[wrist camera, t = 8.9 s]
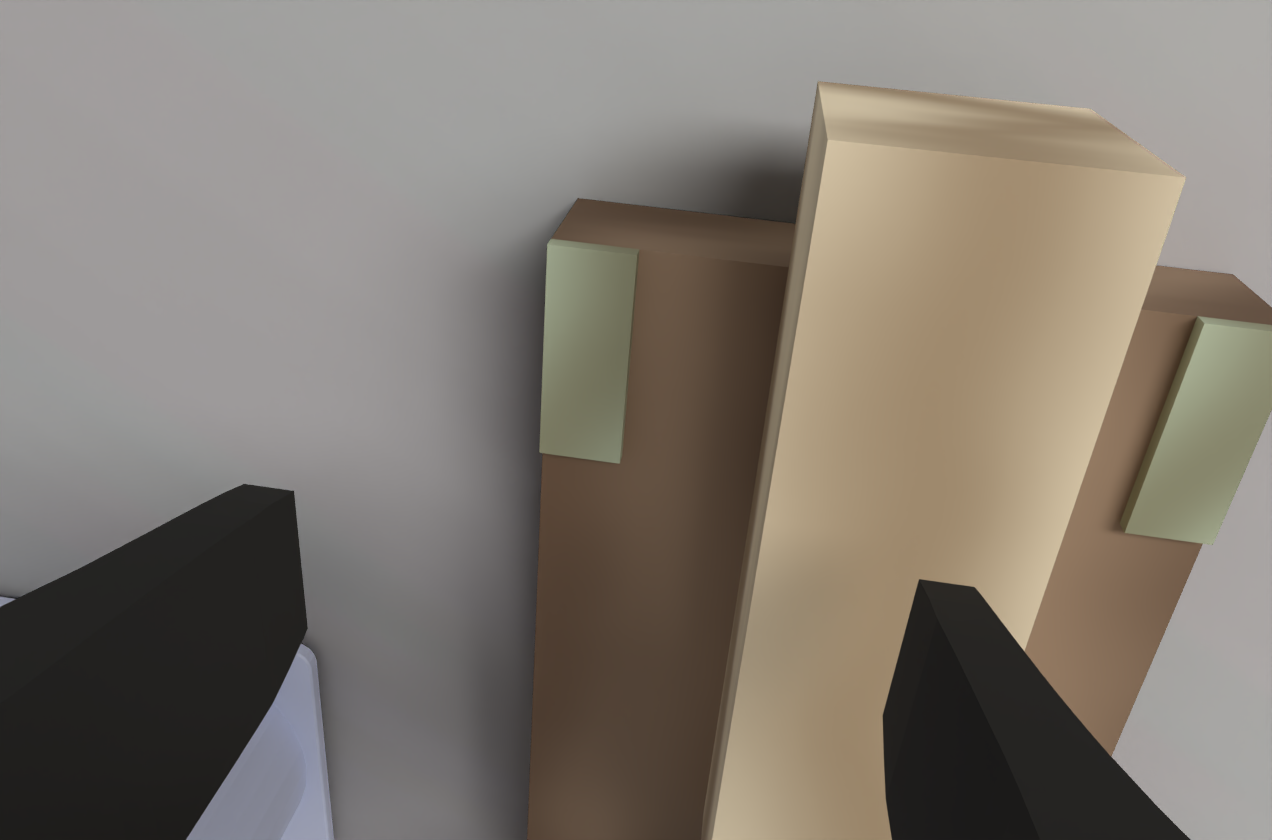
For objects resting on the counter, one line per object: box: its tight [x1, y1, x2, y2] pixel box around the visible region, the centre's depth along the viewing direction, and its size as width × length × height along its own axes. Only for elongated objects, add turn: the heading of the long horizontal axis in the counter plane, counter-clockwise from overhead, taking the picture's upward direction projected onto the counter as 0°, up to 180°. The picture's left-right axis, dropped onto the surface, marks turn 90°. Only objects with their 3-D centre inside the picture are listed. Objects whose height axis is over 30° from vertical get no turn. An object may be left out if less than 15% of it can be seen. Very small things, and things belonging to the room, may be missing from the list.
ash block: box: [701, 82, 1186, 840], centre depth 17 cm, size 4×16×4 cm, turn 176°
